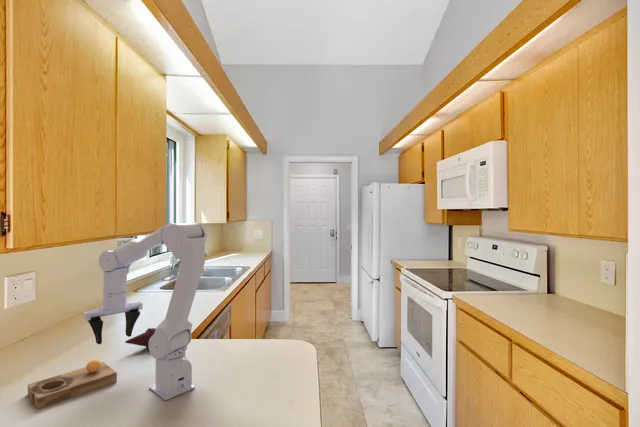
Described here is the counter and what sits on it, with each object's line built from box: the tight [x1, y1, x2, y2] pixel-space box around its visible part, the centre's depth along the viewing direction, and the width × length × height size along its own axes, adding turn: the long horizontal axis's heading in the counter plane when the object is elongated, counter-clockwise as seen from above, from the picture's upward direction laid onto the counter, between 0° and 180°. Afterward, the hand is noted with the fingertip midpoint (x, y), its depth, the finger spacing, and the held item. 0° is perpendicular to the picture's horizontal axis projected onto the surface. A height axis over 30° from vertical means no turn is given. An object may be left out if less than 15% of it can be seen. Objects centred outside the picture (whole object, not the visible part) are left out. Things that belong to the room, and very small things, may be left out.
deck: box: [27, 361, 118, 410], centre depth 90 cm, size 10×17×2 cm, turn 141°
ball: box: [85, 358, 102, 373], centre depth 93 cm, size 3×3×3 cm
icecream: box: [125, 327, 157, 350], centre depth 116 cm, size 7×8×15 cm
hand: (114, 339), depth 97 cm, fingers open, 7 cm apart
